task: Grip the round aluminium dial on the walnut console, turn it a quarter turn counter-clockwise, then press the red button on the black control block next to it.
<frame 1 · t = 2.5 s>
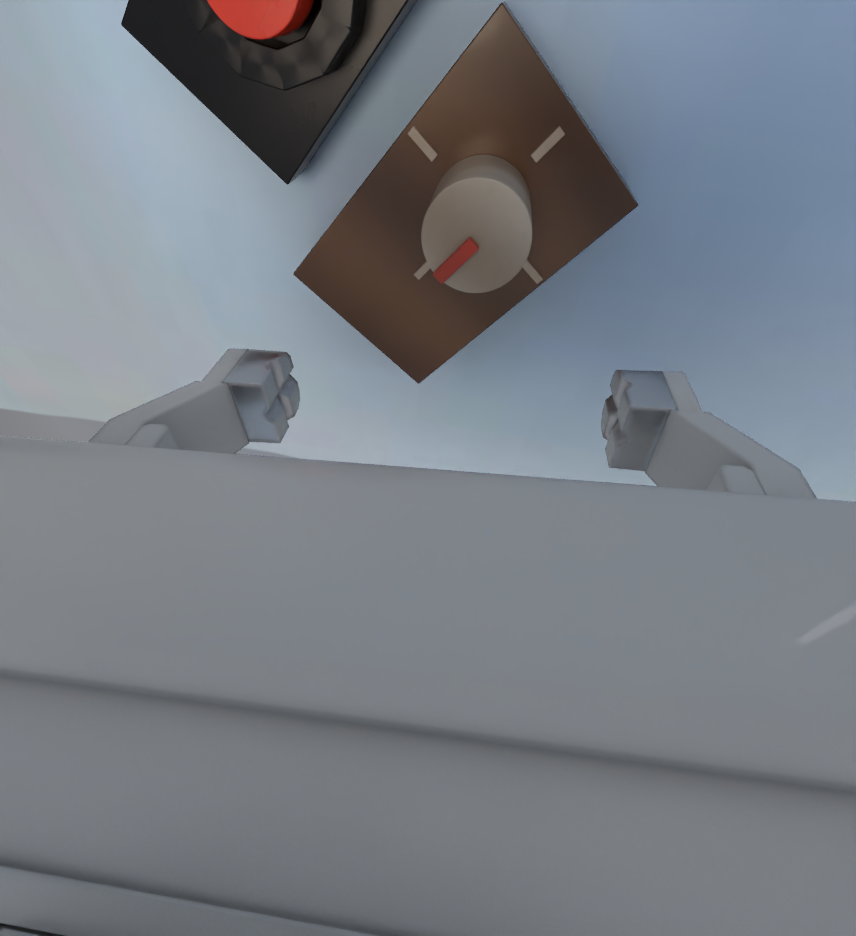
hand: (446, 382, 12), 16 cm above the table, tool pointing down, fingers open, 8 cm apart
console: (455, 221, 25), on the table
dial: (478, 226, 20), point 5 cm above the table, hinge at 0.0°
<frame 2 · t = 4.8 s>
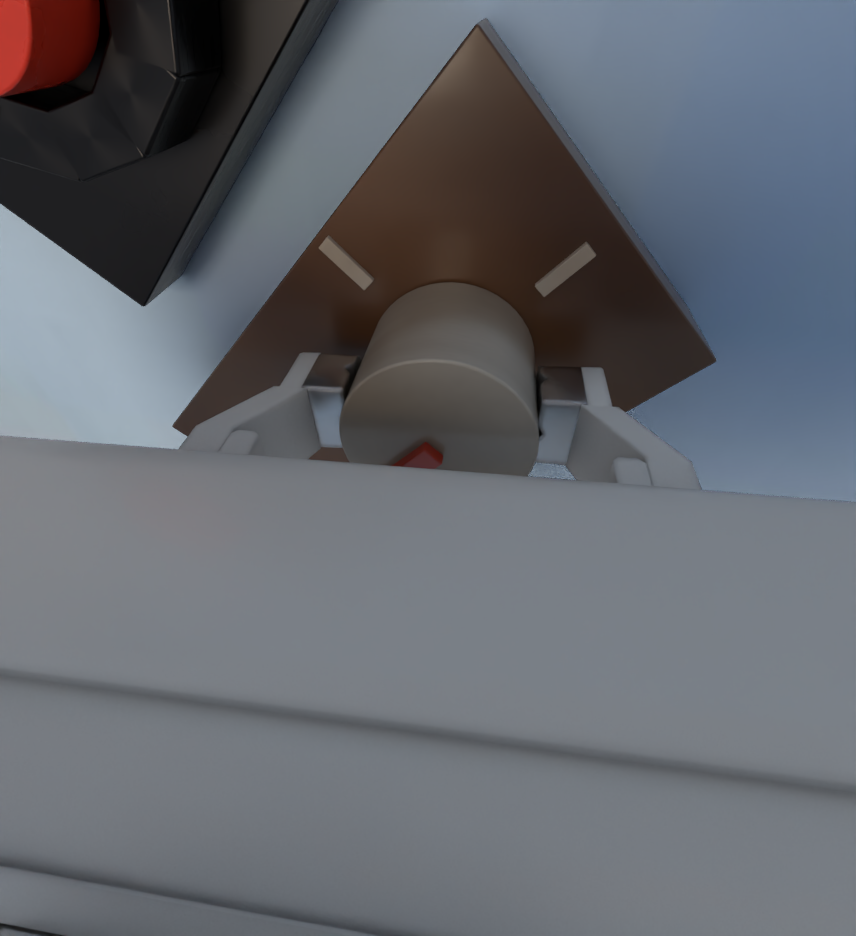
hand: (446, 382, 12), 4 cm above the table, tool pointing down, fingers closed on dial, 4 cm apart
console: (418, 346, 16), on the table
dial: (444, 403, 12), point 5 cm above the table, hinge at 0.1°, touching gripper
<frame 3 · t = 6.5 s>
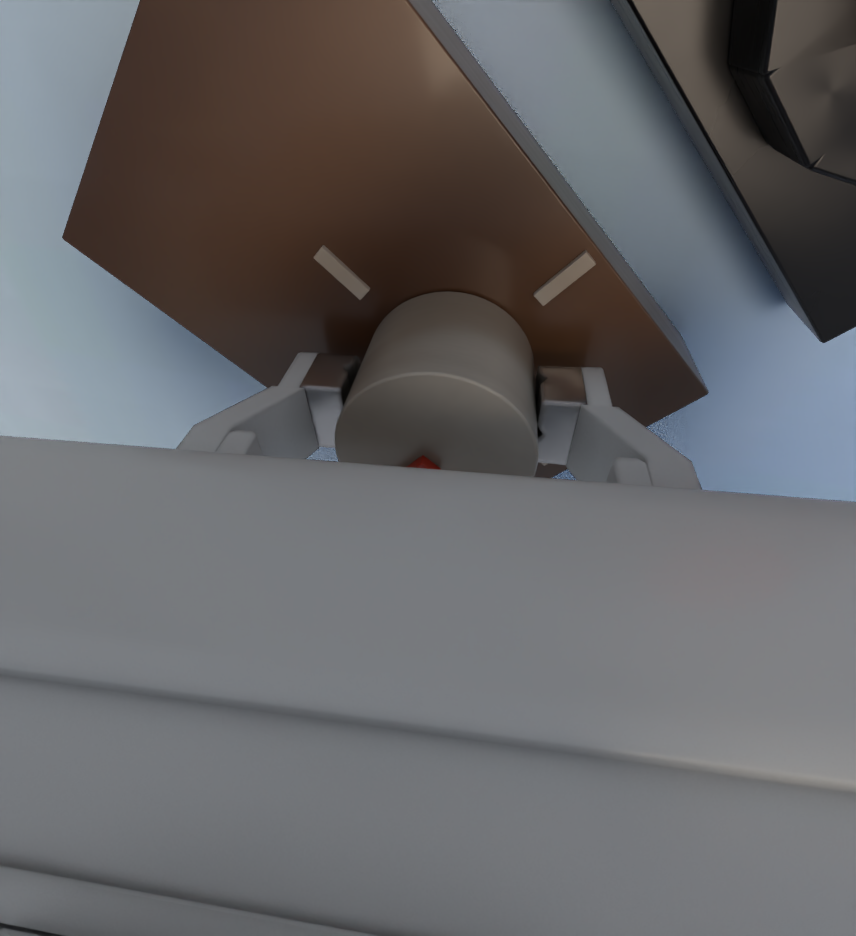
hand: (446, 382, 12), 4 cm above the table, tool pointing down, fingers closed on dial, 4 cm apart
console: (412, 270, 14), on the table
dial: (442, 414, 11), point 5 cm above the table, hinge at 91.0°, touching gripper
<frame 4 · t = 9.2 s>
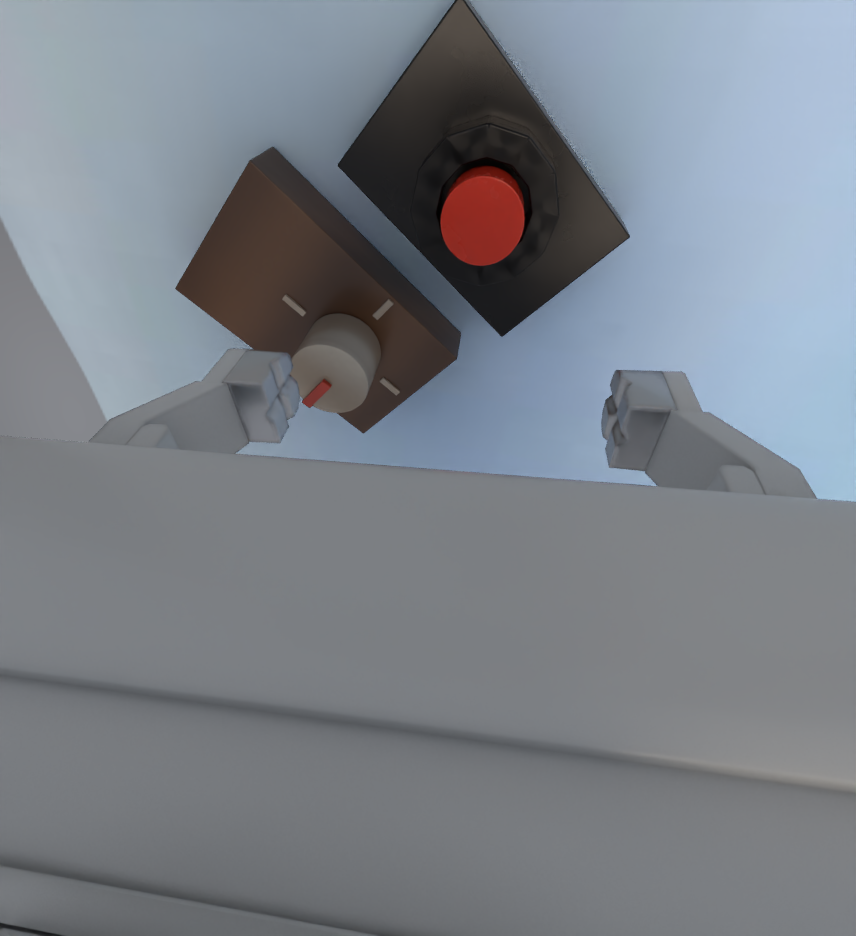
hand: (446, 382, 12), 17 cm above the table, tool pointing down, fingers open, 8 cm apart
console: (332, 301, 30), on the table
button: (482, 217, 21), point 4 cm above the table, slide at 0.1 cm
dial: (336, 365, 27), point 5 cm above the table, hinge at 90.8°
control block: (487, 188, 24), on the table
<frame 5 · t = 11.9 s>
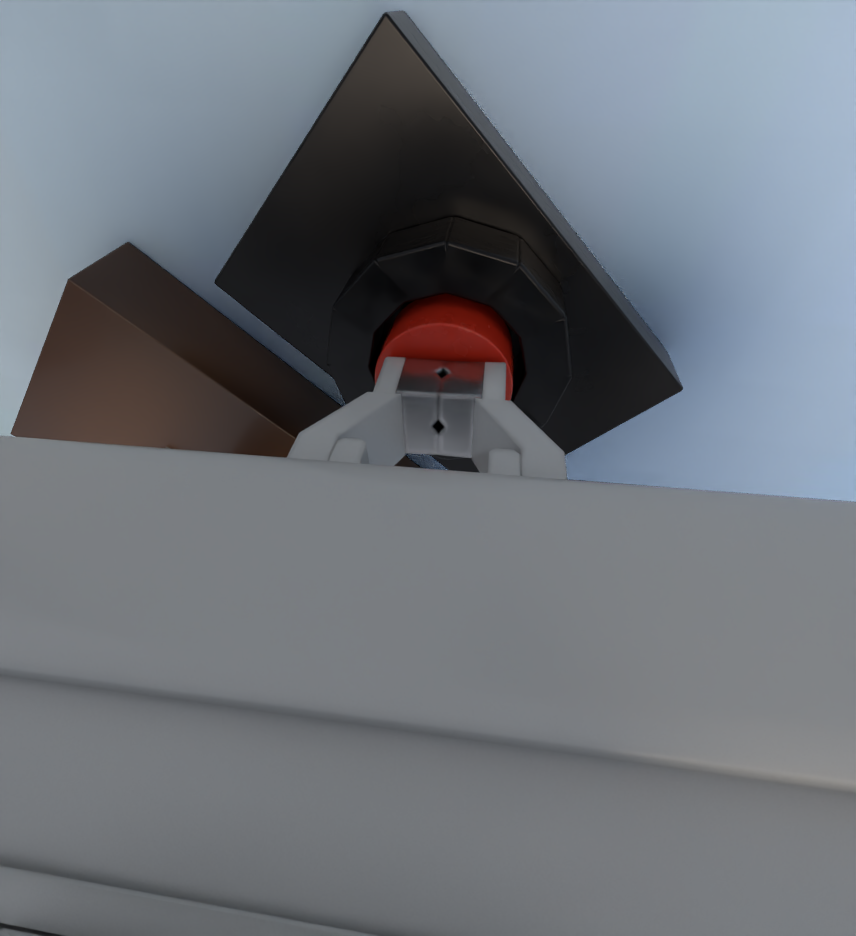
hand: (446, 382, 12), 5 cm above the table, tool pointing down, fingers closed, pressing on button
console: (249, 433, 21), on the table
button: (445, 369, 13), point 4 cm above the table, slide at -0.4 cm, touching gripper
control block: (458, 304, 16), on the table
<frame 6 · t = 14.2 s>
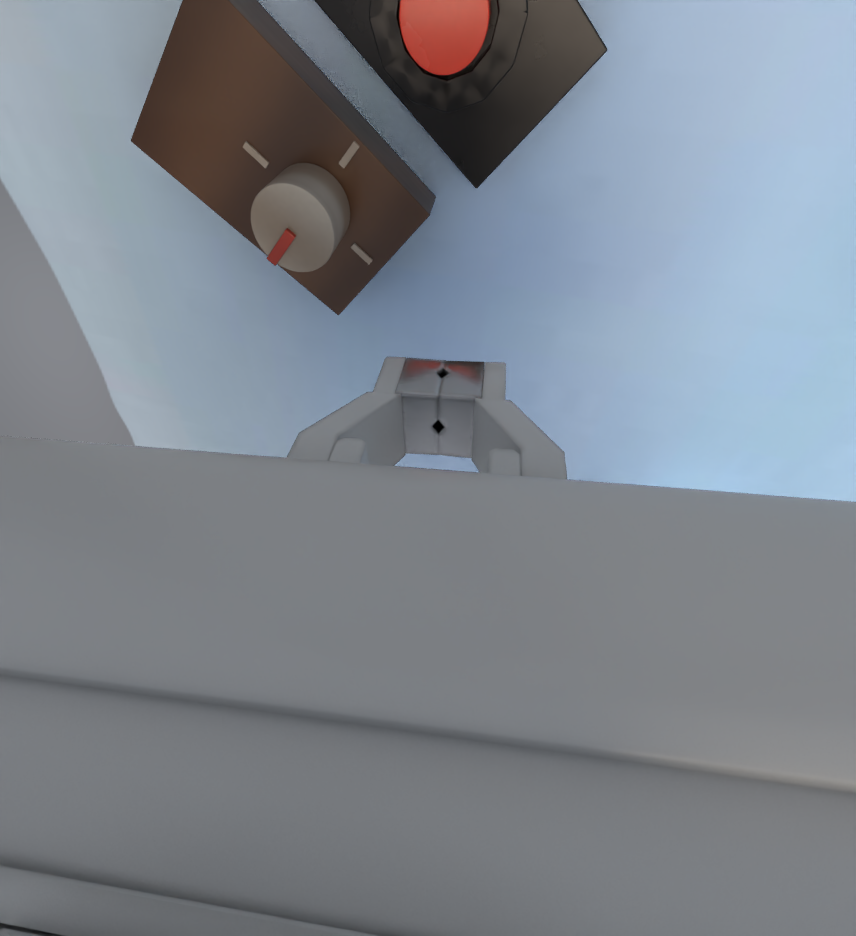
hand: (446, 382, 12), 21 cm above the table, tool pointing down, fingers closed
console: (299, 162, 28), on the table
button: (445, 15, 20), point 4 cm above the table, slide at 0.1 cm
dial: (302, 219, 26), point 5 cm above the table, hinge at 90.8°
control block: (455, 8, 23), on the table
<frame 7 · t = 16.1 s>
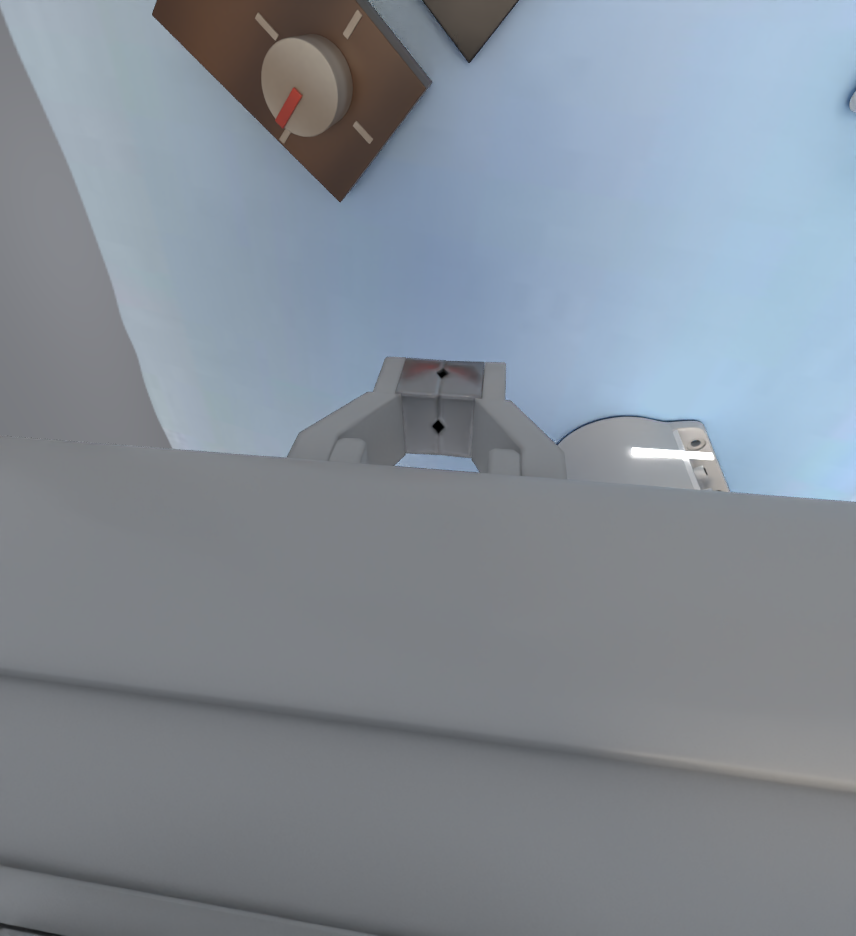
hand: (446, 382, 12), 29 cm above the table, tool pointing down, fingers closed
console: (306, 48, 31), on the table
dial: (308, 86, 28), point 5 cm above the table, hinge at 90.8°
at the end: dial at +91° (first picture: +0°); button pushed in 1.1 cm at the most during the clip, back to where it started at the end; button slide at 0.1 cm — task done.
